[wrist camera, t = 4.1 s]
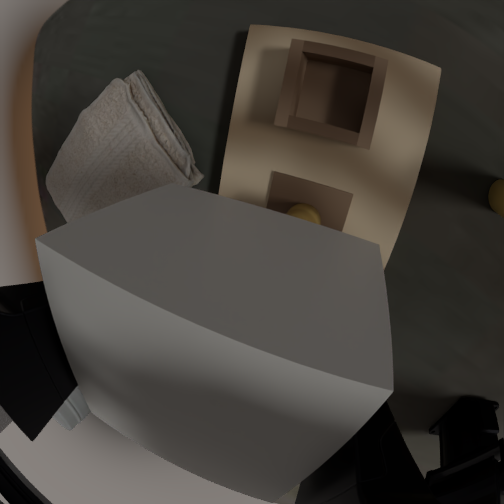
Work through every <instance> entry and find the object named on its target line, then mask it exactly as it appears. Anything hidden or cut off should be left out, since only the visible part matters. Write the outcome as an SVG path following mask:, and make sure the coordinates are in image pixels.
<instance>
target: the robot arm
mask: <svg viewBox="0 0 504 504" xmlns="http://www.w3.org/2000/svg"><path fill="white" fill-rule="evenodd" d="M77 386H78V383H77V381H76V379H75V376H74V374H73V372H72V369H71V367H70V364H69V362H68V359H67V356H66V354H65V351H64V348H63V346H62V343H61V340H60V337H59V334H58V331H57V328H56V325H55V322H54V319H53V315H52V312H51V309H50V305H49V302H48V298H47V294H46V290H45V286H44V282H43V281H40V282H34V283H28V284H19V285H11V286H3V287H0V433H1V431H3V430H4V429H5V428H6V427H7V426H8V425H9V424H10V423H11V422H12V421H14V422H15V423H16V425H17V426H18V427H19V428H20V429H21V430H22V431H23V433H25V435H26V436H28V438H29V439H30V440H31V441H33V440H34V439H35V438H36V437H37V436H38V434H39V433H40V432H41V430H42V429H43V428H44V427H45V425H46V424H47V423H48V422H49V420H50V419H51V418H52V417H53V416H54V414H55V413H56V412H57V411H58V409H59V408H60V407H61V406H62V404H63V403H64V401H66V399H67V398H68V397H69V396H70V394H71V393H72V392H73V391H74V390H75V388H76V387H77ZM498 408H499V404H498V403H497V402H490V401H484V400H478V399H472V398H466V397H464V398H461V399H460V400H459V401H458V402H457V403H456V404H455V405H454V406H453V407H452V408H451V409H450V410H449V411H448V412H447V413H446V414H445V415H444V416H443V417H442V418H441V419H440V420H439V421H438V422H437V423H436V424H435V425H433V426H432V427H431V428H430V429H429V434H433V435H439V440H440V468H438V469H435V470H430V471H427V474H426V478H425V479H424V477H423V475H422V474H421V472H420V470H419V468H418V466H417V464H416V463H415V461H414V459H413V457H412V455H411V453H410V451H409V449H408V447H407V445H406V443H405V441H404V439H403V437H402V435H401V432H400V430H399V428H398V426H397V423H396V422H395V421H394V420H395V419H394V417H393V414H392V412H391V410H390V408H389V406H388V403H387V401H385V402H384V403H383V404H382V405H381V407H380V408H379V409H378V410H377V411H376V412H375V413H374V414H373V416H372V417H371V418H370V419H369V420H368V421H367V422H366V423H365V424H364V425H363V426H362V427H361V428H360V429H359V430H358V431H357V432H356V433H355V434H354V435H353V436H352V437H351V438H350V439H349V440H348V441H347V442H346V443H345V444H344V445H343V446H342V447H341V448H340V449H339V450H338V451H337V452H336V453H335V454H333V455H332V456H331V457H330V458H329V459H328V460H327V461H326V462H324V463H323V464H322V465H321V466H320V467H319V468H318V469H316V470H315V471H314V472H313V473H312V474H310V475H309V476H308V477H307V478H305V479H304V480H303V481H302V482H301V483H300V487H299V491H298V494H297V498H296V501H295V504H504V438H502V439H500V440H499V441H498V437H497V434H498V433H499V427H498V422H497V417H496V413H495V411H496V410H497V409H498ZM499 460H501V461H500V462H498V461H499ZM0 493H1V494H2V496H3V497H4V498H5V499H6V500H7V501H8V502H9V504H52V503H51V502H50V501H49V500H48V499H47V498H46V497H45V496H43V495H42V494H41V493H40V492H39V491H38V490H37V489H36V488H35V487H34V486H33V485H32V484H31V483H30V482H29V481H28V480H27V479H26V478H25V476H24V475H23V474H22V473H21V472H20V471H19V470H18V469H17V468H16V467H15V465H14V464H13V463H12V462H11V461H10V460H9V458H8V457H7V456H6V455H5V454H4V453H3V451H2V450H1V449H0ZM0 504H4V503H3V502H1V501H0Z"/></svg>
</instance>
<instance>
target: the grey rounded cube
mask: <svg viewBox="0 0 504 504" xmlns="http://www.w3.org/2000/svg"><path fill="white" fill-rule="evenodd" d="M35 241H36V248H37V253H38V259H39V264H40V269H41V273H42V277H43V282H44V286H45V290H46V294H47V298H48V302H49V305H50V309H51V312H52V315H53V319H54V322H55V325H56V328H57V331H58V334H59V337H60V340H61V343H62V346H63V348H64V351H65V354H66V356H67V359H68V362H69V364H70V367H71V369H72V372H73V374H74V376H75V379H76V381H77V383H78V385H79V388H80V390H81V392H82V394H83V396H84V398H85V401H86V403H87V405H88V407H89V409H90V411H91V412H92V413H93V414H94V415H96V416H97V417H98V418H100V419H101V420H102V421H104V422H105V423H107V424H108V425H110V426H111V427H112V428H114V429H115V430H117V431H118V432H120V433H121V434H123V435H124V436H126V437H128V438H129V439H131V440H132V441H134V442H136V443H137V444H139V445H141V446H142V447H144V448H145V449H147V450H149V451H151V452H152V453H154V454H156V455H158V456H160V457H161V458H163V459H165V460H167V461H169V462H171V463H173V464H175V465H177V466H179V467H181V468H183V469H185V470H187V471H189V472H191V473H193V474H196V475H197V476H200V477H202V478H204V479H207V480H209V481H211V482H214V483H216V484H219V485H221V486H224V487H226V488H229V489H231V490H234V491H237V492H240V493H243V494H245V495H248V496H251V497H254V498H258V499H261V500H264V501H268V502H271V503H273V502H274V501H276V500H277V499H279V498H280V497H281V496H283V495H284V494H286V493H287V492H288V491H290V490H291V489H292V488H294V487H295V486H296V485H298V484H299V483H300V482H302V481H303V480H304V479H305V478H307V477H308V476H309V475H310V474H312V473H313V472H314V471H315V470H316V469H318V468H319V467H320V466H321V465H322V464H323V463H324V462H326V461H327V460H328V459H329V458H330V457H331V456H332V455H333V454H335V453H336V452H337V451H338V450H339V449H340V448H341V447H342V446H343V445H344V444H345V443H346V442H347V441H348V440H349V439H350V438H351V437H352V436H353V435H354V434H355V433H356V432H357V431H358V430H359V429H360V428H361V427H362V426H363V425H364V424H365V423H366V422H367V421H368V420H369V419H370V418H371V417H372V416H373V414H374V413H375V412H376V411H377V410H378V409H379V408H380V407H381V405H382V404H383V403H384V402H385V401H386V400H387V398H388V397H389V396H390V395H391V394H392V393H393V391H394V387H393V358H392V341H391V329H390V318H389V308H388V300H387V292H386V284H385V277H384V271H383V264H382V258H381V252H380V247H379V244H376V243H373V242H370V241H367V240H364V239H361V238H359V237H356V236H353V235H350V234H347V233H344V232H340V231H337V230H334V229H331V228H328V227H325V226H322V225H319V224H316V223H312V222H309V221H306V220H303V219H300V218H296V217H293V216H290V215H287V214H283V213H280V212H277V211H273V210H270V209H266V208H263V207H260V206H256V205H253V204H249V203H246V202H242V201H238V200H235V199H231V198H228V197H224V196H220V195H217V194H213V193H209V192H205V191H202V190H198V189H194V188H190V187H186V186H182V185H178V184H174V183H170V184H167V185H164V186H162V187H159V188H156V189H153V190H150V191H147V192H144V193H142V194H139V195H136V196H134V197H131V198H128V199H126V200H123V201H120V202H118V203H115V204H113V205H110V206H108V207H105V208H103V209H100V210H98V211H95V212H93V213H90V214H88V215H86V216H83V217H81V218H79V219H76V220H74V221H72V222H70V223H67V224H65V225H63V226H61V227H58V228H56V229H54V230H52V231H50V232H48V233H46V234H43V235H41V236H39V237H37V238H36V239H35Z"/></svg>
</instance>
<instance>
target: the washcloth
mask: <svg viewBox="0 0 504 504" xmlns="http://www.w3.org/2000/svg"><path fill="white" fill-rule="evenodd" d="M194 164H195V160H194V158H193V153H192V150H191V148H190V146H189V144H188V142H187V141H186V139H185V138H184V136H183V134H182V132H181V130H180V129H179V127H178V126H177V125H176V123H175V122H174V121H173V119H172V118H171V117H170V115H169V114H168V112H167V111H166V109H165V107H164V105H163V103H162V102H161V100H160V98H159V96H158V95H157V94H156V92H155V90H154V89H153V87H152V86H151V84H150V82H149V81H148V79H147V78H146V76H145V75H144V74H143V72H142V71H140V70H137V71H136V72H134V73H132V74H131V75H130V76H128V77H126V78H125V79H124V81H123V80H122V79H119V78H116V79H114V80H113V81H112V82H111V83H110V84H109V85H108V86H107V87H106V88H105V90H104V91H103V92H102V93H101V94H100V95H99V97H98V98H97V99H96V100H95V101H93V103H92V104H91V105H90V106H89V107H87V108H86V109H84V110H83V111H82V112H81V113H80V115H79V117H78V120H77V122H76V124H75V125H74V127H73V129H72V131H71V133H70V134H69V136H68V137H67V139H66V140H65V142H64V143H63V145H62V147H61V149H60V150H59V152H58V154H57V157H56V159H55V161H54V163H53V165H52V167H51V168H50V170H49V172H48V174H47V176H46V186H47V190H48V191H49V193H50V194H51V197H52V199H53V201H54V202H55V205H56V206H57V208H58V209H59V210H60V211H61V213H62V214H63V217H64V218H65V219H66V222H67V223H70V222H72V221H74V220H76V219H79V218H81V217H83V216H86V215H88V214H90V213H93V212H95V211H98V210H100V209H103V208H105V207H108V206H110V205H113V204H115V203H118V202H120V201H123V200H126V199H128V198H131V197H134V196H136V195H139V194H142V193H144V192H147V191H150V190H153V189H156V188H159V187H162V186H164V185H167V184H170V183H174V184H178V185H182V186H186V187H190V188H191V187H192V186H193V185H197V184H198V183H199V182H200V180H201V179H202V178H204V175H203V174H202V173H200V172H199V170H198V169H197V168H196V167H195V165H194Z"/></svg>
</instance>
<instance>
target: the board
mask: <svg viewBox="0 0 504 504" xmlns="http://www.w3.org/2000/svg"><path fill="white" fill-rule="evenodd" d="M440 74H441V68H439V67H437V66H434V65H432V64H430V63H427V62H425V61H422V60H420V59H417V58H414V57H412V56H409V55H406V54H403V53H400V52H397V51H394V50H391V49H388V48H385V47H381V46H378V45H374V44H371V43H367V42H363V41H359V40H355V39H351V38H347V37H342V36H337V35H333V34H327V33H322V32H316V31H310V30H303V29H295V28H287V27H277V26H265V25H250V28H249V32H248V37H247V41H246V46H245V51H244V55H243V60H242V65H241V70H240V75H239V80H238V85H237V90H236V95H235V100H234V105H233V111H232V116H231V122H230V127H229V133H228V139H227V144H226V150H225V156H224V162H223V169H222V175H221V181H220V188H219V194H218V195H220V196H224V197H228V198H231V199H235V200H238V201H242V202H246V203H249V204H253V205H256V206H260V207H263V208H266V209H270V210H273V211H277V212H280V213H283V214H287V215H290V216H293V217H296V218H300V219H303V220H306V221H309V222H312V223H316V224H319V225H322V226H325V227H328V228H331V229H334V230H337V231H340V232H344V233H347V234H350V235H353V236H356V237H359V238H361V239H364V240H367V241H370V242H373V243H376V244H379V247H380V252H381V258H382V264H383V271H384V269H385V266H386V264H387V262H388V259H389V257H390V254H391V252H392V249H393V247H394V244H395V242H396V239H397V236H398V234H399V231H400V228H401V226H402V223H403V220H404V217H405V214H406V212H407V209H408V206H409V203H410V200H411V197H412V194H413V190H414V187H415V184H416V181H417V177H418V174H419V171H420V167H421V163H422V160H423V156H424V152H425V148H426V145H427V140H428V136H429V132H430V128H431V123H432V119H433V114H434V109H435V104H436V98H437V93H438V87H439V80H440Z"/></svg>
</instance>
